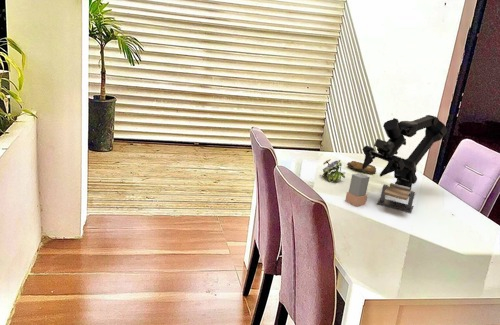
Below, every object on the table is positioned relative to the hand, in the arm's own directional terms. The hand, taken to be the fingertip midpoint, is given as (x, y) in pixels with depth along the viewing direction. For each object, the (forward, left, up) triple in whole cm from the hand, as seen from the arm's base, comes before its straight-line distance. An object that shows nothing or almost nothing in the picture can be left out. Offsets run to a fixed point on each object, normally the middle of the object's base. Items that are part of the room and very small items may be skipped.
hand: (371, 172), depth 195 cm
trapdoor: (-10, +6, -6) cm, 14 cm away
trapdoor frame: (-12, +4, -13) cm, 18 cm away
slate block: (+5, +4, -9) cm, 11 cm away
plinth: (+5, +4, -13) cm, 14 cm away
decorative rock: (-12, -44, -13) cm, 48 cm away
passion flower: (+8, -25, -13) cm, 30 cm away
